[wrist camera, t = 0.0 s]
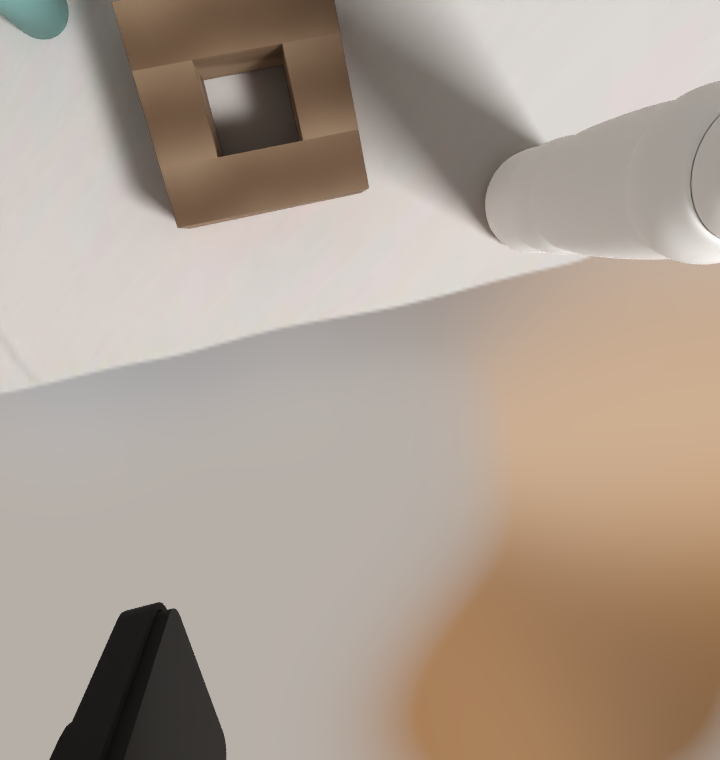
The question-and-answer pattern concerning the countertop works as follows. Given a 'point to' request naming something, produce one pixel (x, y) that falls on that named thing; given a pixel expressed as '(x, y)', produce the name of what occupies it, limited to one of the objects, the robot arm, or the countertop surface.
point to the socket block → (233, 56)
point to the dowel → (36, 16)
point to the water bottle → (619, 187)
